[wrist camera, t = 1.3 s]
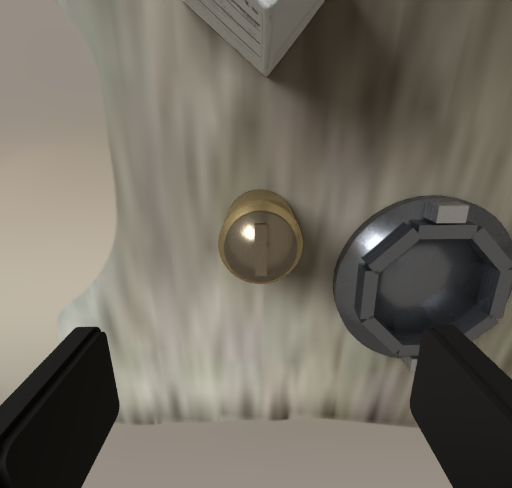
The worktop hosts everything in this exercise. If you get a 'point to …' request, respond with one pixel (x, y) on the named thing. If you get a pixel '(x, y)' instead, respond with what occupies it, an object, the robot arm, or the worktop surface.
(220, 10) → the supplement box
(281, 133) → the worktop surface
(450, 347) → the robot arm
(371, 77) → the worktop surface
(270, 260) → the brass lock cylinder
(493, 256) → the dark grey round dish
